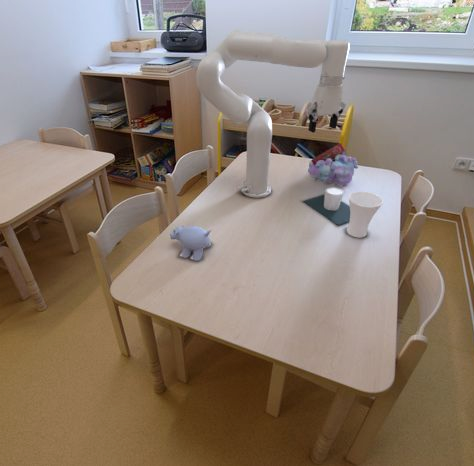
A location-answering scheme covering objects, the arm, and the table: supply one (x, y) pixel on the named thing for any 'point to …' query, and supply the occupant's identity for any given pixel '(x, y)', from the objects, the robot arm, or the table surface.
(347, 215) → the mat
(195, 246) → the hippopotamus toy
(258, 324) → the table surface
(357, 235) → the cup
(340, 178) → the pastel bubbly cloud
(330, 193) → the shot glass
